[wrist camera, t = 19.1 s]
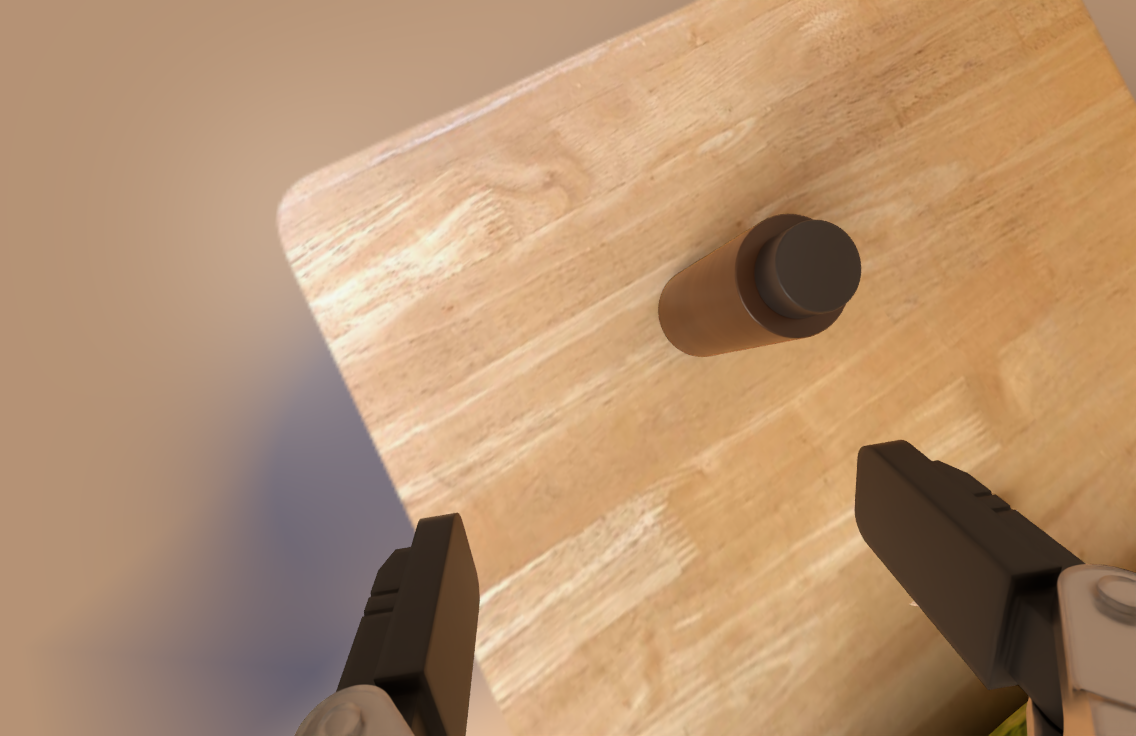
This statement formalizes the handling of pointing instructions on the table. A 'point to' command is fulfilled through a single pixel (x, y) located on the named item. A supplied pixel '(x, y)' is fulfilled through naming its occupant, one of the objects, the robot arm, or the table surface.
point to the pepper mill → (762, 288)
